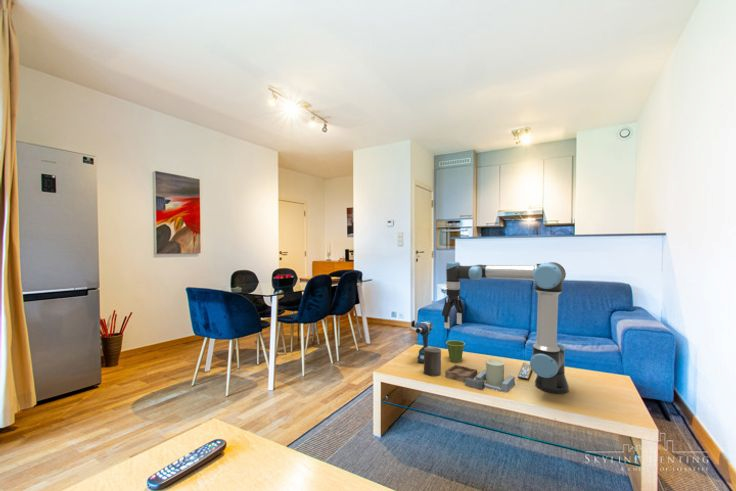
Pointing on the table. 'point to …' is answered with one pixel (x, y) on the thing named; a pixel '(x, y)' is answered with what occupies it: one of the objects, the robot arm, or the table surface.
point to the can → (494, 372)
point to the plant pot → (455, 350)
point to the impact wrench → (424, 337)
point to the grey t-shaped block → (475, 383)
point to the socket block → (505, 386)
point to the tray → (460, 373)
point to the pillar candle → (432, 361)
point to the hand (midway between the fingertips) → (453, 326)
